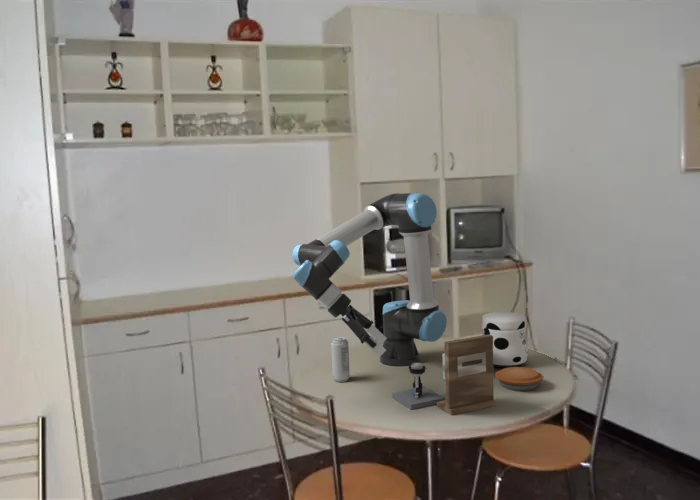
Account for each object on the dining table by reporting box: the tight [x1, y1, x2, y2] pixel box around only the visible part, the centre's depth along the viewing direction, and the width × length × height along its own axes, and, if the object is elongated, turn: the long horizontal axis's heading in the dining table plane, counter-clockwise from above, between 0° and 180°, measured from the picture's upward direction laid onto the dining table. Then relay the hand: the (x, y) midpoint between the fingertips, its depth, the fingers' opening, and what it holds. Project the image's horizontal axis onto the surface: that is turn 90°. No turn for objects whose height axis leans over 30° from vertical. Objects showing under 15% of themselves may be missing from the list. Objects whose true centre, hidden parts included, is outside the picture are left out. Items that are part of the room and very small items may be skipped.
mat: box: [391, 386, 445, 410], centre depth 199 cm, size 12×12×2 cm
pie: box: [494, 366, 544, 392], centre depth 209 cm, size 15×16×5 cm
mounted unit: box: [436, 335, 497, 416], centre depth 192 cm, size 10×16×22 cm, turn 114°
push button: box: [408, 362, 427, 398], centre depth 198 cm, size 7×5×10 cm
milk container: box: [481, 311, 529, 368], centre depth 233 cm, size 17×17×18 cm
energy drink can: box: [330, 336, 351, 383], centre depth 221 cm, size 6×6×15 cm
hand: (383, 347), depth 198 cm, fingers open, 13 cm apart
